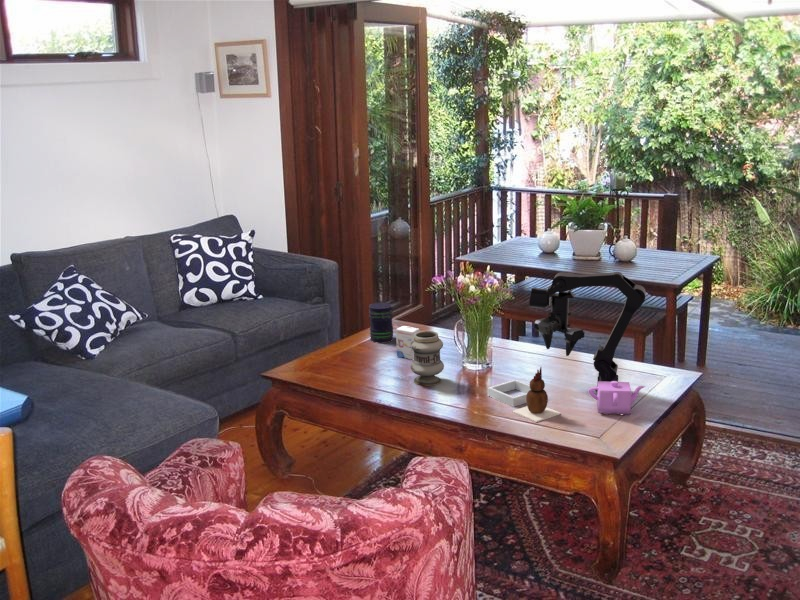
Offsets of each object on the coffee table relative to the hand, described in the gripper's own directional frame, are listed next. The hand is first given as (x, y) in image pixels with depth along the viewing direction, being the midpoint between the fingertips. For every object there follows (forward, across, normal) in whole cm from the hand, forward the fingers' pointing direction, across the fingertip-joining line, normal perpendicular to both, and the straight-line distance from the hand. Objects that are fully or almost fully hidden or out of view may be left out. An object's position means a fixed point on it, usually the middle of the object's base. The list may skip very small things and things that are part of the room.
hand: (557, 352), depth 300 cm
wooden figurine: (+13, +13, -22) cm, 29 cm away
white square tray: (+13, -3, -18) cm, 22 cm away
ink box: (+15, -61, -19) cm, 66 cm away
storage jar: (+15, -87, -14) cm, 89 cm away
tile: (+13, +12, -22) cm, 29 cm away
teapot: (+13, +28, -2) cm, 31 cm away
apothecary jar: (+14, -34, -30) cm, 48 cm away
